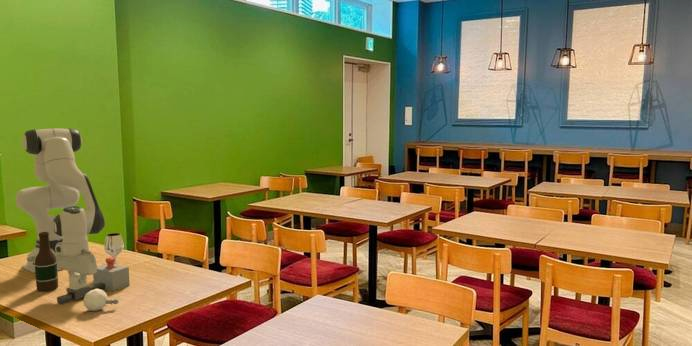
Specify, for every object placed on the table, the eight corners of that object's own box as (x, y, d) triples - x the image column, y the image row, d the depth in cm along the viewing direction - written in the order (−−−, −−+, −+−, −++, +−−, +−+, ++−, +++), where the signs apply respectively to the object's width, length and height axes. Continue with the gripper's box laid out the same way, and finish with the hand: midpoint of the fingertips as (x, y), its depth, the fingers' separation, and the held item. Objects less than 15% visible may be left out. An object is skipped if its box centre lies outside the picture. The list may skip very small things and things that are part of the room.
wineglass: (126, 274, 227) (124, 235, 225) (107, 277, 222) (105, 237, 220) (123, 269, 234) (121, 231, 231) (104, 272, 229) (102, 234, 227)
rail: (57, 303, 192) (56, 297, 191) (101, 288, 208) (101, 282, 208) (61, 304, 191) (60, 298, 190) (105, 289, 207) (105, 283, 207)
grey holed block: (93, 286, 211) (92, 268, 210) (110, 280, 218) (109, 262, 217) (113, 291, 205) (112, 272, 204) (129, 285, 212) (128, 266, 211)
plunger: (104, 279, 210) (103, 259, 209) (112, 277, 214) (111, 257, 212) (110, 280, 209) (109, 260, 208) (118, 278, 212) (116, 258, 211)
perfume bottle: (86, 296, 190) (121, 297, 193) (81, 315, 184) (116, 315, 187) (85, 284, 185) (120, 285, 188) (79, 303, 179) (116, 304, 182)
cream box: (66, 297, 197) (65, 276, 196) (80, 292, 202) (79, 271, 201) (76, 299, 194) (75, 278, 193) (90, 294, 199) (89, 274, 198)
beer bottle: (48, 293, 203) (44, 235, 200) (32, 291, 204) (27, 234, 202) (62, 286, 210) (59, 230, 208) (47, 285, 212) (43, 229, 209)
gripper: (100, 249, 194) (102, 284, 196) (67, 243, 203) (69, 276, 205) (85, 253, 188) (87, 289, 190) (52, 246, 198) (54, 280, 199)
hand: (78, 282), depth 198 cm, fingers closed on cream box, 4 cm apart
